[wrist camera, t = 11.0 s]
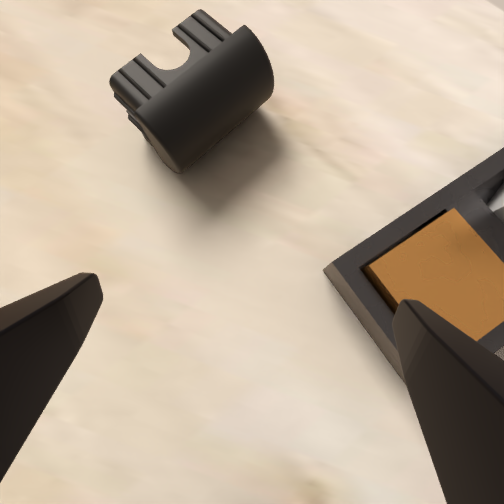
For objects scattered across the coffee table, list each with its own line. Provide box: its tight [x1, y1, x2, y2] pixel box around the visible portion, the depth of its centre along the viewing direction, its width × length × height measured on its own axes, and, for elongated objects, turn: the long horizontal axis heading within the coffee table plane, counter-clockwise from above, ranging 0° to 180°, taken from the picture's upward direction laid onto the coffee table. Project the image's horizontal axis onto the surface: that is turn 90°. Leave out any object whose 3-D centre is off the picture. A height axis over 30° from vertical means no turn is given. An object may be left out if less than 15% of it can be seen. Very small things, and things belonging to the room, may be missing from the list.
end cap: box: [109, 9, 274, 173], centre depth 23 cm, size 10×7×7 cm
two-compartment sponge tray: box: [323, 148, 504, 384], centre depth 21 cm, size 10×20×4 cm, turn 123°
